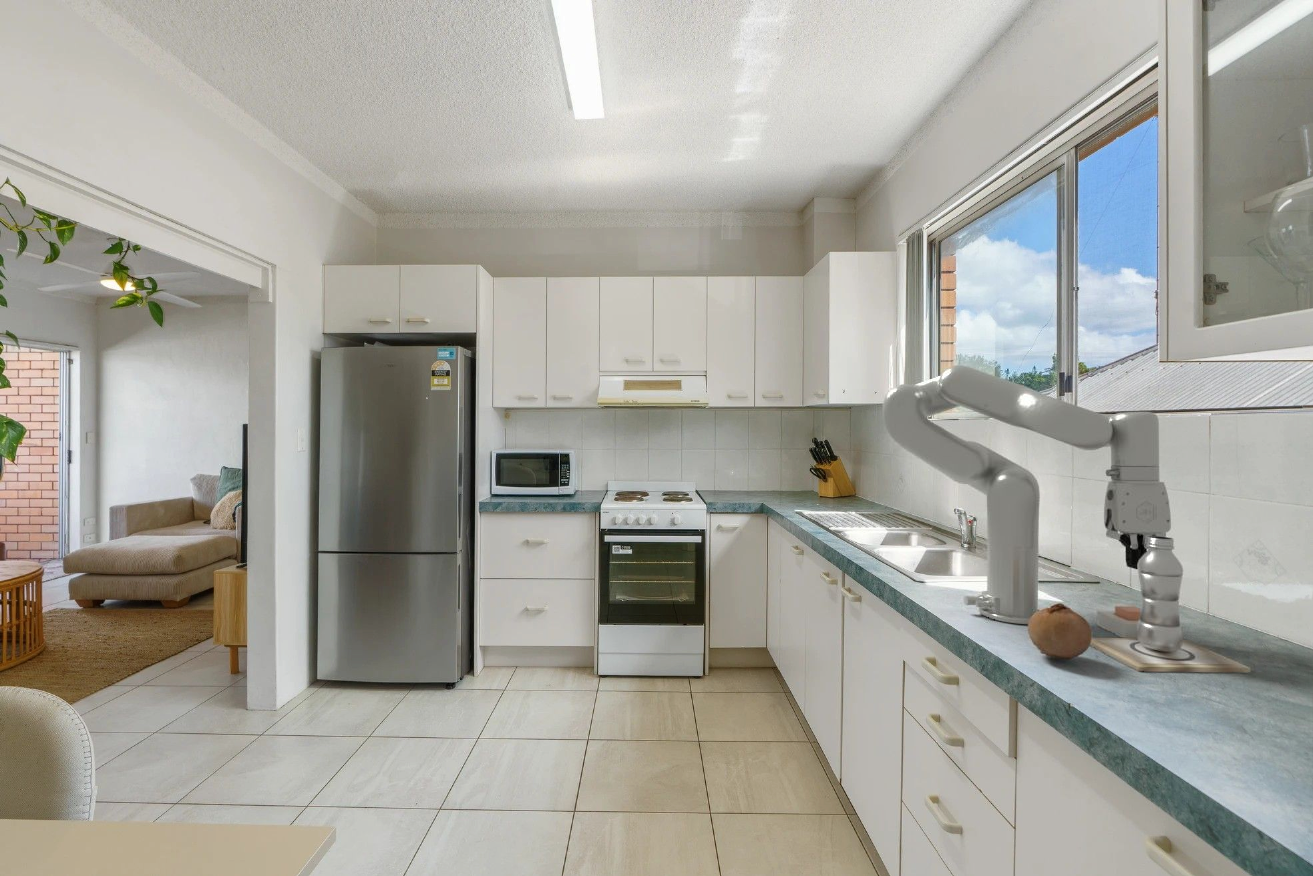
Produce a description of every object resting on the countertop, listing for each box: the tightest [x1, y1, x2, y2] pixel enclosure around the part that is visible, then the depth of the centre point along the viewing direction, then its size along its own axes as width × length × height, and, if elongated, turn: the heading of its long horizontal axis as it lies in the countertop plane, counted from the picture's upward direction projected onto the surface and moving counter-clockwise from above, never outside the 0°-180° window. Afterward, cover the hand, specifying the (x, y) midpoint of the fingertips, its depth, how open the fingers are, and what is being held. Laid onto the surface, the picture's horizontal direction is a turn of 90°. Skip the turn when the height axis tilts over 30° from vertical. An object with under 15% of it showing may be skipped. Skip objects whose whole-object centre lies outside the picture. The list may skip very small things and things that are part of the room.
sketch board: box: [1089, 637, 1251, 674], centre depth 111 cm, size 18×14×1 cm
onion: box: [1027, 602, 1093, 661], centre depth 109 cm, size 10×9×10 cm
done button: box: [1114, 605, 1140, 621], centre depth 124 cm, size 4×4×3 cm
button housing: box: [1096, 610, 1138, 638], centre depth 124 cm, size 8×8×3 cm
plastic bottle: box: [1136, 536, 1184, 652], centre depth 111 cm, size 6×7×20 cm
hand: (1136, 567), depth 123 cm, fingers closed
